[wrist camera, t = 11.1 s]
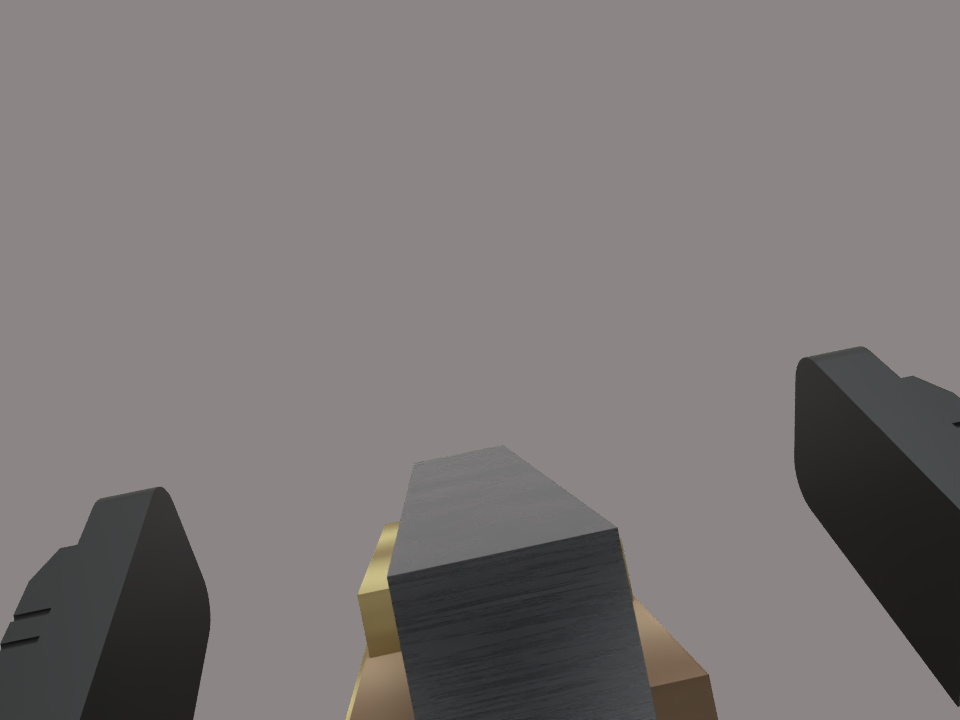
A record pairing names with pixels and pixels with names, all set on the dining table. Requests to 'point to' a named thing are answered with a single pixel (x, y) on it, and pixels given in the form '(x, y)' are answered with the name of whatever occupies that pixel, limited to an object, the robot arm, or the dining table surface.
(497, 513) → the dark grey bar
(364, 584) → the brown patterned paper bag
